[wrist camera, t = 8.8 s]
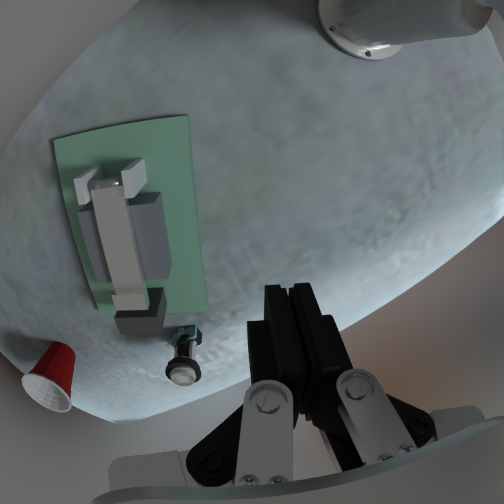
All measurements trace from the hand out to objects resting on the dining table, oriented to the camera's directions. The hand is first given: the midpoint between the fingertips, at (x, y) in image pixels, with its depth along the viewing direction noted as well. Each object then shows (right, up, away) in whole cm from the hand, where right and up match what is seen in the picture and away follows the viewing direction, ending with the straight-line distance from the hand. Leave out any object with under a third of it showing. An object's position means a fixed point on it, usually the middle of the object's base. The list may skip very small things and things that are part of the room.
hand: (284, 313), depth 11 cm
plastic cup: (-40, -18, +37) cm, 57 cm away
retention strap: (-17, +3, +21) cm, 27 cm away
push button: (-13, -11, +37) cm, 41 cm away
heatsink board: (-17, +6, +27) cm, 32 cm away
